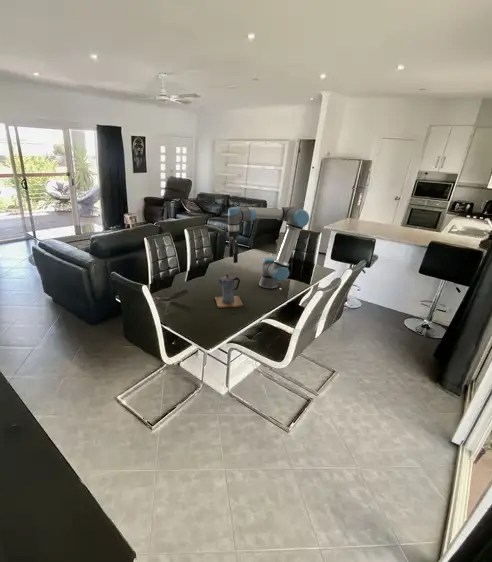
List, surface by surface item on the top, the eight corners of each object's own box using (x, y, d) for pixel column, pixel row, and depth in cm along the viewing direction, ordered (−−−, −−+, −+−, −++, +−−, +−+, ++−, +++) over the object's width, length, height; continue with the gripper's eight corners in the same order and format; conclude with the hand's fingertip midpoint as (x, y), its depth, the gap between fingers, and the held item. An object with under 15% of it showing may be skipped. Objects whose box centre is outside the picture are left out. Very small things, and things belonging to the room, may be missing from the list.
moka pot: (217, 298, 236) (217, 273, 228) (237, 297, 237) (238, 272, 229) (218, 304, 227) (219, 277, 220) (240, 303, 228) (241, 276, 221)
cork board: (238, 297, 241) (238, 295, 240) (243, 306, 226) (243, 304, 225) (214, 298, 239) (214, 296, 238) (218, 307, 224) (218, 306, 224)
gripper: (224, 226, 232) (224, 254, 240) (232, 235, 209) (232, 265, 217) (234, 226, 233) (234, 254, 241) (243, 234, 210) (242, 264, 218)
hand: (233, 259), depth 229 cm, fingers open, 13 cm apart
